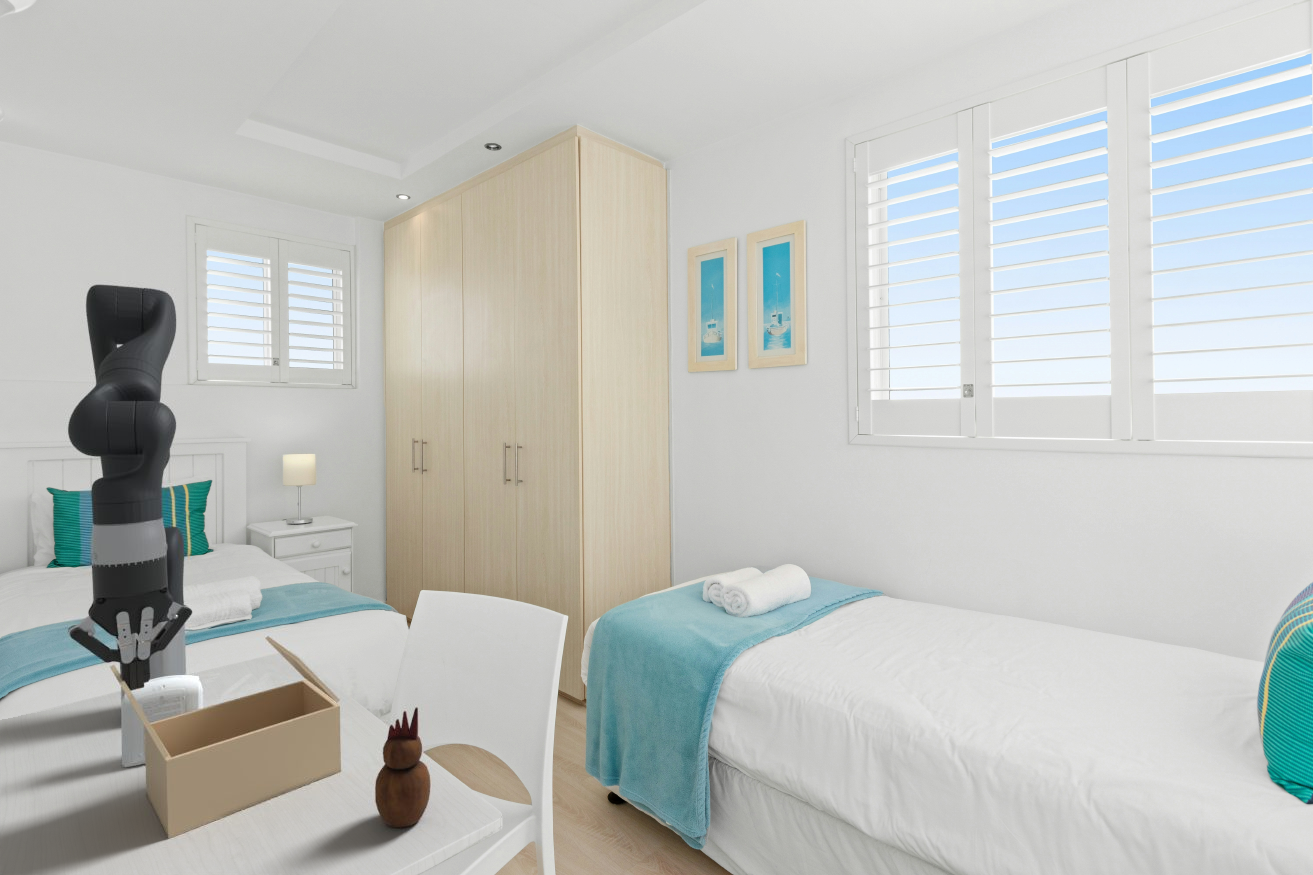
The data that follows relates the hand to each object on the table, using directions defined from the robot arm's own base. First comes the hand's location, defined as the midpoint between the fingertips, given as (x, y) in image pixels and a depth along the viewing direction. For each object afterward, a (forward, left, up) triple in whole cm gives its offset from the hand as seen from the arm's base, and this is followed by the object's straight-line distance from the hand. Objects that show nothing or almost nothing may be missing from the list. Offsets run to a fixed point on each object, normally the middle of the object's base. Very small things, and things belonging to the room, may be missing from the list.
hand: (135, 687), depth 84 cm
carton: (0, +12, -18) cm, 22 cm away
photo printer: (-18, +6, -18) cm, 26 cm away
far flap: (0, +20, -3) cm, 20 cm away
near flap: (0, 0, -3) cm, 3 cm away
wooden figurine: (+25, +24, -18) cm, 39 cm away
